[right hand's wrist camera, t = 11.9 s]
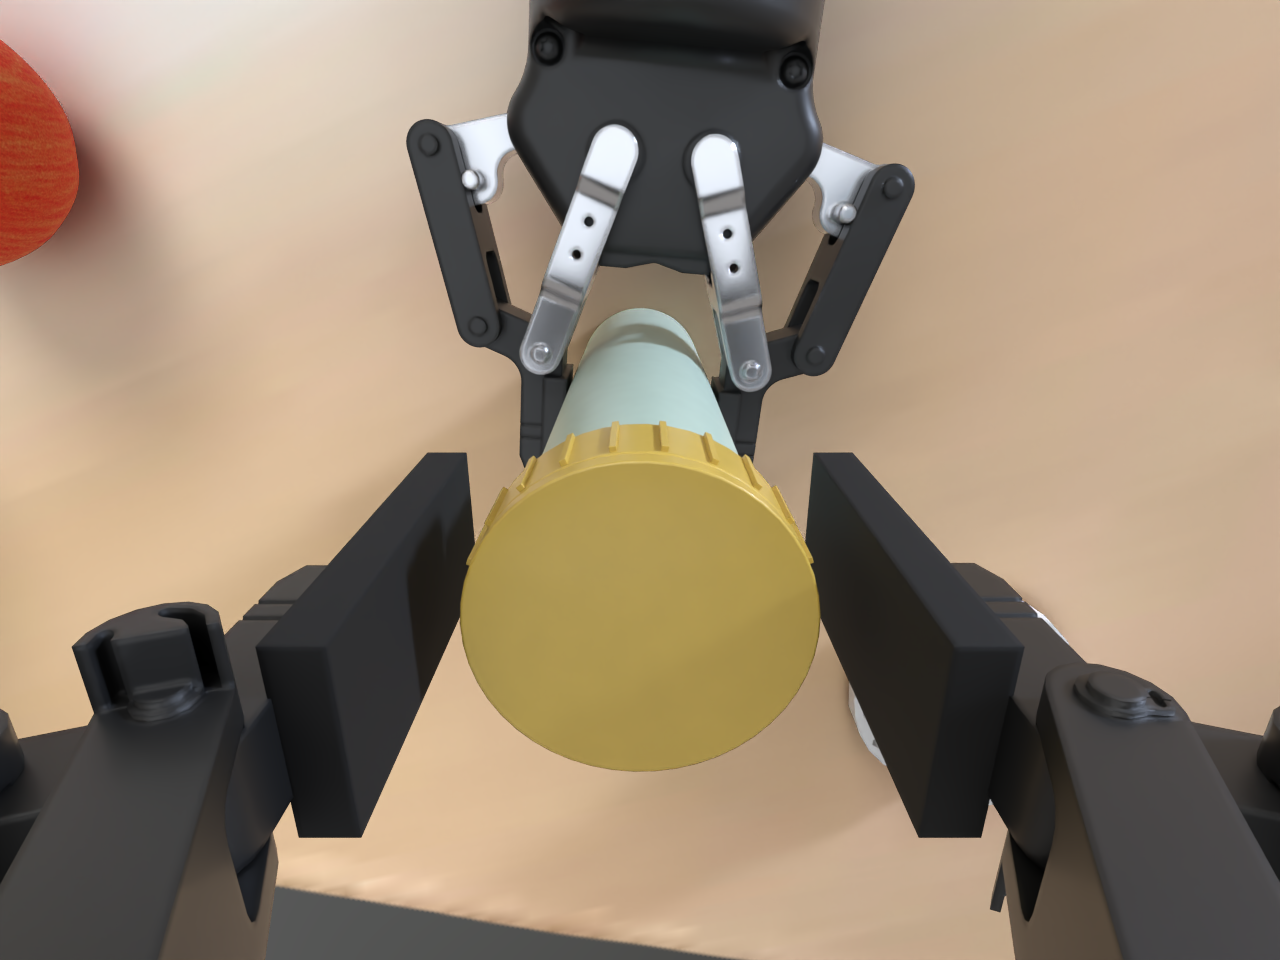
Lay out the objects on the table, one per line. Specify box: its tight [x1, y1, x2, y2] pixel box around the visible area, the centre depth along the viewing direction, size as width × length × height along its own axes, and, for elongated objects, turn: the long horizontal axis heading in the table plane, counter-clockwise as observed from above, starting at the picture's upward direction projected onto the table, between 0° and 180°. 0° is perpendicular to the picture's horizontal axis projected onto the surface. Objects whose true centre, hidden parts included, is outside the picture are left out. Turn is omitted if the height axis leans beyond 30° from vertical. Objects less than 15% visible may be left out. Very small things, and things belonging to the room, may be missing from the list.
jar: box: [542, 308, 738, 455], centre depth 19 cm, size 4×4×19 cm
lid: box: [460, 421, 821, 772], centre depth 11 cm, size 5×5×2 cm
